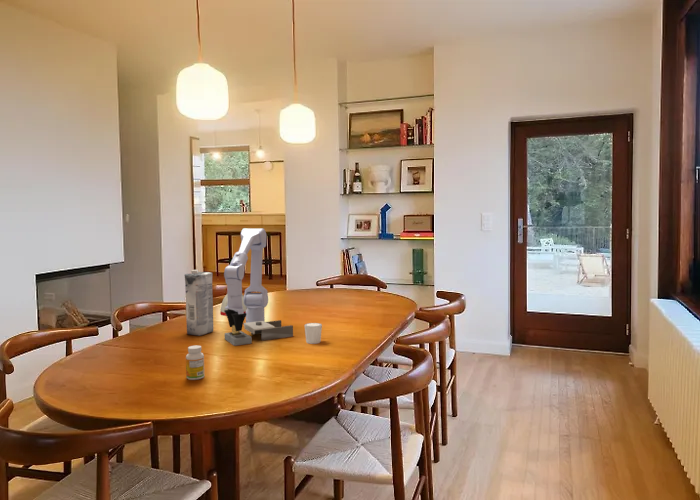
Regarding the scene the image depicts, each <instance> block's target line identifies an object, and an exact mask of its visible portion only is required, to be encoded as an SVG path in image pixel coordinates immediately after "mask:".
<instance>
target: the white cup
mask: <svg viewBox="0 0 700 500" xmlns="http://www.w3.org/2000/svg"><path fill="white" fill-rule="evenodd" d="M322 328H323V325H322V323H321V322H320V323H318V322H308V323H305V324H304V334H305V341H306V342H305V343H306V344H310V345H311V344H312V345H315V344H320V343H321V342H322V341H321V340H322Z"/></svg>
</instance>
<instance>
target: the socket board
mask: <svg viewBox="0 0 700 500" xmlns="http://www.w3.org/2000/svg"><path fill="white" fill-rule="evenodd" d="M252 339H253V338H252V336H250V335H249V334H247V333H245V332H244V331H242V330H241V331H240V335H232V331H231V332H230V331H229V332H225V333H224V340H225V341H226V342H228V343H229V344H231V345H232V346H234V347H236V346H241V345H250V344H252V343H253V342H252Z"/></svg>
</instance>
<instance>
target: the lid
mask: <svg viewBox="0 0 700 500" xmlns="http://www.w3.org/2000/svg"><path fill="white" fill-rule="evenodd" d="M266 322H267V321H265V322H264V321H256V322H248V323H246V322H243V326H244V325H245V326H244V330H246V331H248V332H249V333H250V334H251V333H253V335H256V334H255V330H263V329H270V328H275V326H273V325H271V324H269V323H266Z"/></svg>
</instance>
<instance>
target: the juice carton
mask: <svg viewBox="0 0 700 500" xmlns="http://www.w3.org/2000/svg"><path fill="white" fill-rule="evenodd" d="M190 270H191V269H190ZM190 272H191V273H184V283H185V286H184V287H185V288H184V289H185V309H186V310H185V311H186V312H185V313H186V314H185V317H186V334H187V335H192V336H203V335H206V334H207V335H208V334H209V333H212V332H214V304H213V303H214V302H213V301H214V299H213V298H214V297H213V272H211V271H210V272H209V271H199V269H192V270H191V271H190Z"/></svg>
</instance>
